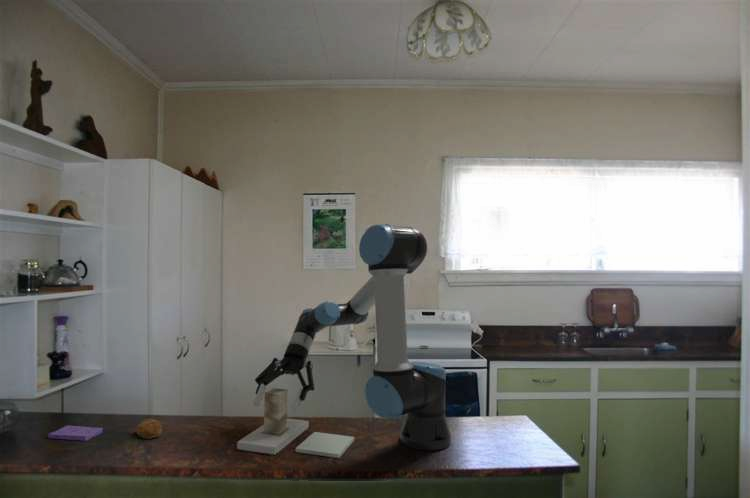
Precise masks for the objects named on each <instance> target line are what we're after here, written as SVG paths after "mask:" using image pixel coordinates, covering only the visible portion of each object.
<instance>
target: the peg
mask: <svg viewBox="0 0 750 498" xmlns="http://www.w3.org/2000/svg"><path fill="white" fill-rule="evenodd" d="M263 405H264V410H263V414H264V415H263V425H264V434H269V435H276V436H281V435H282V434H283V433H285V432H286V431H287V418H288V389H286V388H285V389H284V388H276V387H275V388H274V387H273V388H271V389H269V390H267V391H265V393H264V404H263Z"/></svg>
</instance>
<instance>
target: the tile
mask: <svg viewBox="0 0 750 498" xmlns="http://www.w3.org/2000/svg"><path fill="white" fill-rule="evenodd" d="M354 441H355V436H349V435H343V434H334V433H326V432H319V431H314V432H312V433H311V434H310V435H309V436H308V437H307V438H305V439H304V441H302V442H301V443H299V444H298V446H296V447H295V452H296V453H301V454H308V455H315V456H320V457H321V456H323V457H329V458H335V459H339V458H340V457H341V456H342V455H343V454H344V453H345V452H346V450H347V449H348V448H349V447H350V446H351V445H352V443H354Z"/></svg>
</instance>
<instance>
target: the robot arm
mask: <svg viewBox="0 0 750 498" xmlns="http://www.w3.org/2000/svg"><path fill="white" fill-rule="evenodd" d="M364 231H365V232H364V233H363V234H362V236H361V238H360V241H359V245H358V246H359V248H358V251H359V256H360V259H362V261H363V262H364V263H365V264H366V265H367V267H368V273H369V274H370V275H371V277H370V278H369V279H368V281H367V282H365V283H364V285H363V286H362V287H360V289H359V290H358V291H357V292H356V293H355V294H353V296H352V298H351V299H349V300H348V301H347V302H346V303H336V302H334V301H332V300H326V301H324V302H322V303H320V304H318V305H317V306H316V307H314V308H311V307H310V308H305V309H303V310H302V312H301V314H300V315H299V318H298V321H297V323H296V326H295V328H294V330H293V332H292V335H291V338H290V340H289V341H288V344H287V347H286V349H285V351H284V354H283V358H282V359H278V358H277V357H274V358H273V359H272V361H271V363H269V365H268V366H267V367H266V368H264V370H262V372H260V374H258V375H257V376H256V377H255V378H254V382H255V383H256V384H257V387H256V390H255V394H256V395H255V397H254V399H253V402H252V403H253V404H254V406H255V407H257V408H258V407H260V405H261V402H262V399H263V397H264V396H265V392H266V390H267V387H266V386H268V385H269V384H271V382H273V381H275V380H276V379H277V378H279V377H281V376H283V375H284V374H285V375H291V376H295V375H297V377H298V379H299V382H300V385H302V387H299V389H298V391H297V394H296V397H295V400H294V403H293V405H292V408H293V410H294V412H295V413H296V412H299V409H300V406H301V403H302V401H303V402H305V400H306V397H307V394H308V392H309V391H312V392H313V391H315V383H314V377H313V367H314V366H313V365H314V364H313V363H312V361H311V360H308V361H307V358H308V355H309V353H310V350H311V347H312V346H313V342H314V340H315V337H316V335H317V333H319V332H321V331H322V330H323V329H325V328H329V327H339V326H340V327H341V326H348V325H358V324H362V323H365V322H366V321H367V320H368V317H369V312H370V311H371V310H372V308H373V307H375V308H374V309H375V325H376V326H375V327H376V351H377V361H376V363H375V364H374V365H373V367H372V377H370V378H369V379H368V380H367V382H366V383H365V386H364V394H365V399H366V402H367V405H368V406H369V408H370V409H371V410H372V413H374V414H375V415H376V416H377V417H378V418H381V419H385V420H387V419H388V420H389V419H392V418H395V419H396V418H399V417H401V416H403V415H404V416H405V417H404V420H403V424H402V427H401V429H400V437H399V438H400V442H401V443H402V444H403V445H404V446H406V447H408V448H410V449H414V450H415V449H416V450H420V451H440V450H443V449H446V448H448V447H449V446H450V445H451V443H452V435H451V431H450V427H449V423H448V422H447V421H448V420H447V418H446V381H447V379H446V378H447V377H446V370H445V368H444V367H443V366H441V365H439V364H436V363H431V362H422V361H409V358H408V357H409V355H408V338H407V336H408V335H407V320H406V319H407V318H406V300H405V299H406V298H405V279H404V277H405V276H406V275H410V274H412V273H414V272H415V271H416V270H417V269H418V268H419V267H420V265H421V264H422V263H423V262H424V261H425V258H426V256H427V253H428V243H427V240H426V238H425V236H424V234H423V233H422V232H421V231H420V230H418V229H416V228H414V227H411V226H402V225H393V224H387V223H386V224H381V223H380V224H373V225H371V226H369V227H368V228H367V229H365V230H364ZM306 361H307V362H306ZM304 368H305V371H306V376H307V383H308V384H307V383H306V381H305V378H304V377H303V374H302V372H301V371H302V370H303V369H304Z"/></svg>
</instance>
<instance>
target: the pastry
mask: <svg viewBox="0 0 750 498" xmlns="http://www.w3.org/2000/svg"><path fill="white" fill-rule="evenodd" d="M162 432H163V426H162V424H161V422H160V421H159V420H155V419H154V418H146V419H144V420H142V421H141V422H139V424H138V425H137V427H136V434H137V436H139V437H141V438H143V439H147V440H151V439H153V438H157V437H160V436H161V434H162Z"/></svg>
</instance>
